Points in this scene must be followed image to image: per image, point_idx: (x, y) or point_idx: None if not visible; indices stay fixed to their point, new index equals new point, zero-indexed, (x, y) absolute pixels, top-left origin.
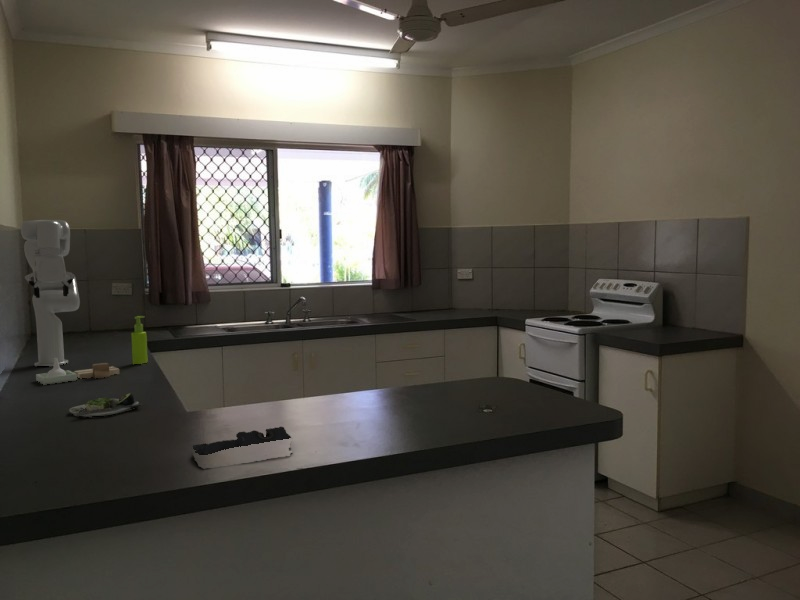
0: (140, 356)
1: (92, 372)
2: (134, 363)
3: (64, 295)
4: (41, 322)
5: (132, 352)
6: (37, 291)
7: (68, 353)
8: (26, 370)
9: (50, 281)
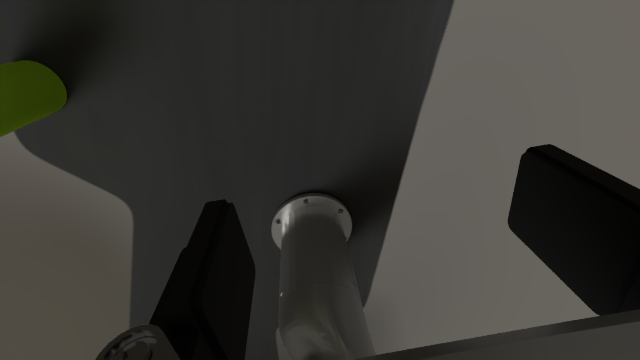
0: (3, 65)
1: None
2: (53, 75)
3: (241, 234)
4: (354, 310)
5: (32, 97)
6: (621, 182)
7: (267, 344)
8: (377, 172)
9: (589, 326)
